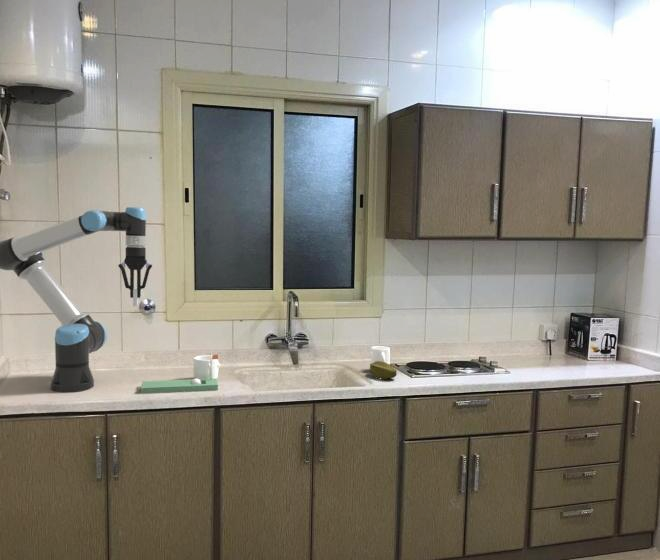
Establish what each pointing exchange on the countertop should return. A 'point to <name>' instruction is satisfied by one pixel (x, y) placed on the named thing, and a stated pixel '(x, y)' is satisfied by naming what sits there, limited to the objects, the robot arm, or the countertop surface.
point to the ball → (196, 381)
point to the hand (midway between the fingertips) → (135, 305)
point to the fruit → (382, 370)
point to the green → (180, 384)
